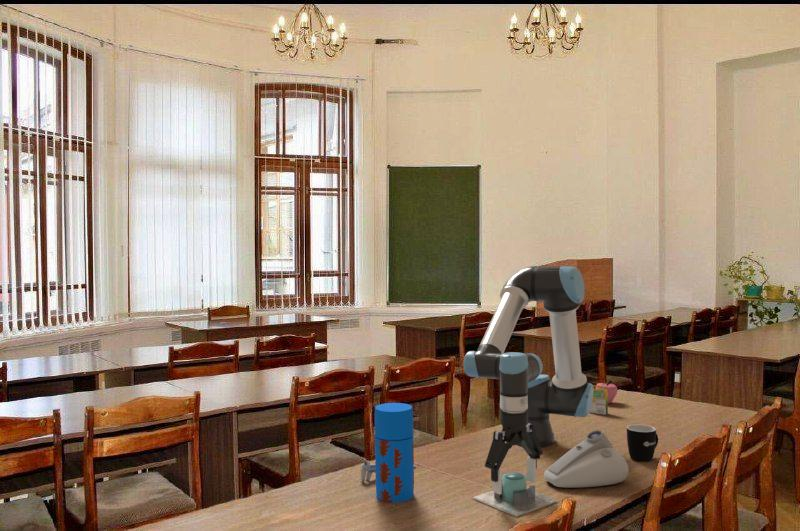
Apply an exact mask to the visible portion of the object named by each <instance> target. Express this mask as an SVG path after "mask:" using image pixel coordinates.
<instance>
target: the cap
mask: <svg viewBox="0 0 800 531" xmlns="http://www.w3.org/2000/svg"><path fill="white" fill-rule="evenodd" d="M526 489H527V475H525V474H523V473H520V472H514V471H513V472H506V473H504V474H502V498H503V500H505V501H507V502H511V503H513V491H523V490H526Z"/></svg>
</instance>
